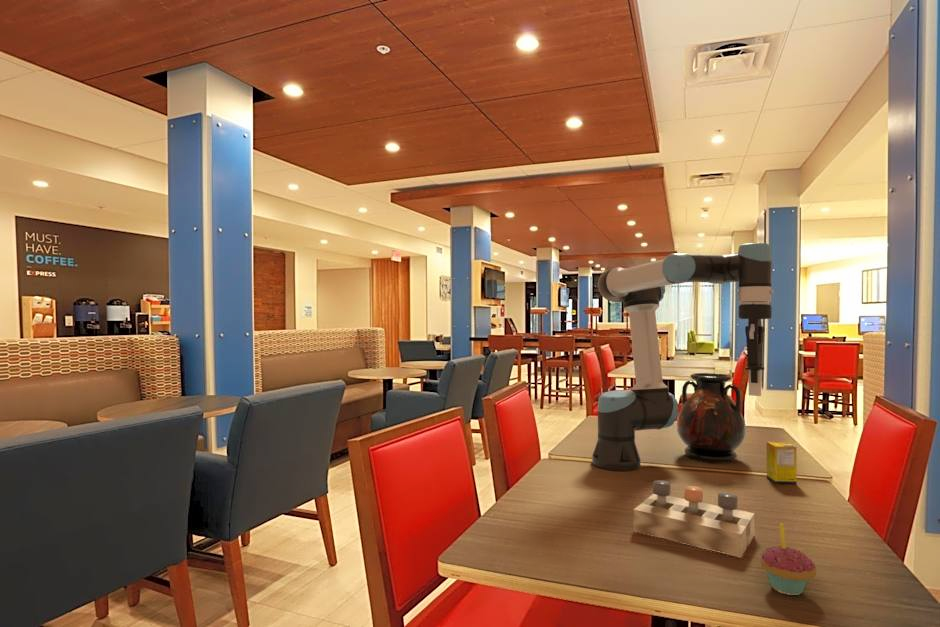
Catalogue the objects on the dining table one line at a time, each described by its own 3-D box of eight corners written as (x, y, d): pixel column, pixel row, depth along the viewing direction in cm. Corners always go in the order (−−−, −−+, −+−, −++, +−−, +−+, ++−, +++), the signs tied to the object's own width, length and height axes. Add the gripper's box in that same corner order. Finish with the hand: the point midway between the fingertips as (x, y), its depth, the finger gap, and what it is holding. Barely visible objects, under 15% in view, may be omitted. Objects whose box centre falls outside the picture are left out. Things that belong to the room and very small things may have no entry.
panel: (633, 531, 122) (633, 509, 122) (654, 513, 133) (654, 492, 133) (741, 559, 108) (741, 534, 108) (754, 535, 119) (754, 513, 119)
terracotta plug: (682, 511, 120) (682, 489, 120) (687, 507, 123) (687, 485, 123) (700, 515, 118) (700, 492, 118) (704, 510, 121) (704, 488, 121)
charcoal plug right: (716, 519, 116) (716, 496, 116) (720, 514, 119) (720, 491, 119) (735, 523, 114) (735, 499, 114) (739, 518, 117) (739, 494, 117)
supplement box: (786, 478, 161) (787, 441, 161) (797, 484, 155) (797, 446, 155) (765, 477, 162) (766, 441, 162) (775, 484, 156) (775, 446, 156)
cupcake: (750, 578, 100) (750, 514, 100) (793, 576, 101) (794, 512, 101) (780, 603, 92) (781, 532, 92) (827, 601, 93) (828, 531, 93)
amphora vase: (754, 456, 185) (754, 374, 185) (733, 470, 169) (734, 380, 169) (690, 446, 199) (690, 370, 199) (666, 457, 184) (666, 375, 184)
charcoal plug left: (650, 505, 124) (650, 483, 124) (656, 500, 127) (656, 479, 127) (667, 508, 122) (667, 486, 122) (672, 503, 125) (672, 482, 125)
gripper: (768, 303, 132) (768, 399, 132) (774, 303, 143) (774, 393, 143) (734, 303, 136) (734, 397, 136) (742, 304, 147) (742, 391, 147)
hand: (754, 395), depth 139 cm, fingers closed
